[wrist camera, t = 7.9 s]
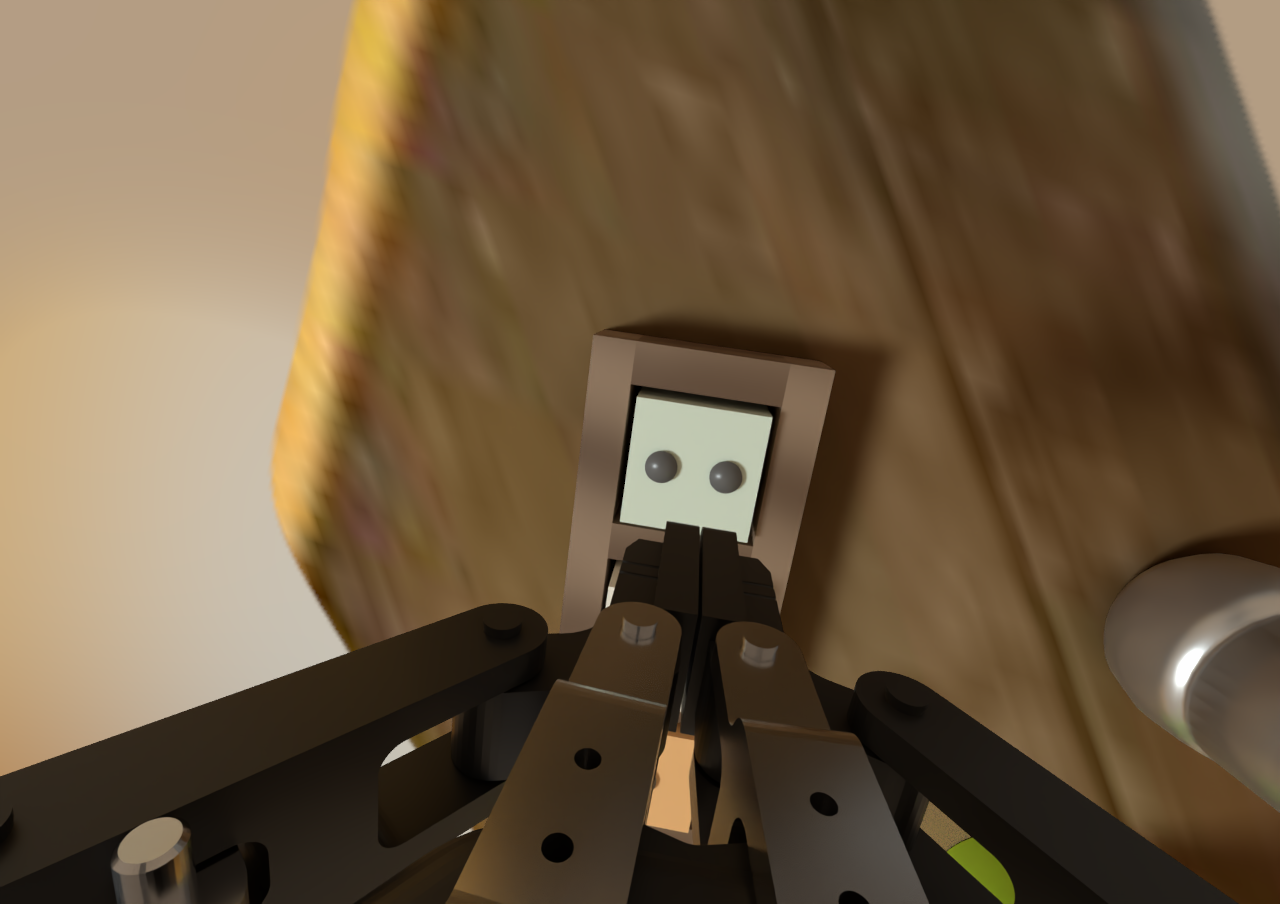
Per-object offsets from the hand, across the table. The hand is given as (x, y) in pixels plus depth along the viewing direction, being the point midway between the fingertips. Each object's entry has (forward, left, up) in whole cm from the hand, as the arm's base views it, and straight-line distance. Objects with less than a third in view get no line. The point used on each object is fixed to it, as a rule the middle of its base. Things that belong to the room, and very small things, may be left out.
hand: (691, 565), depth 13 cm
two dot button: (0, 0, -11) cm, 11 cm away
